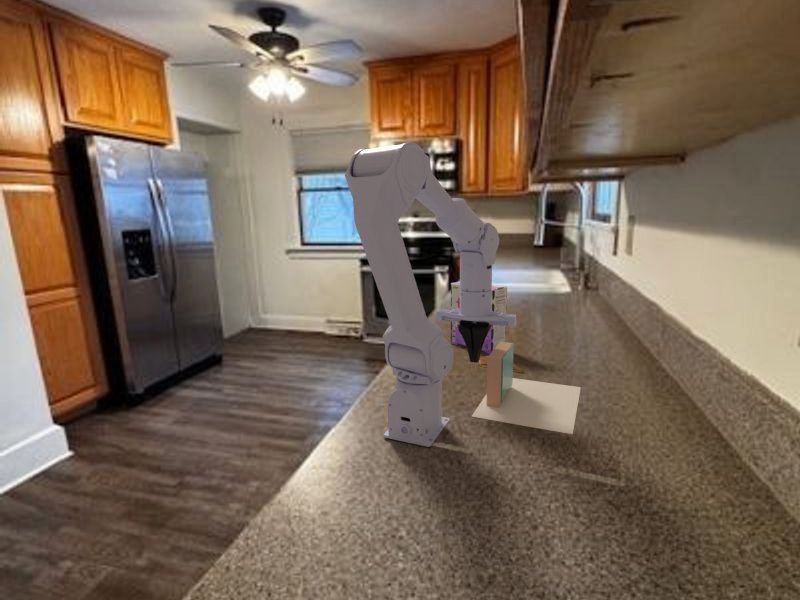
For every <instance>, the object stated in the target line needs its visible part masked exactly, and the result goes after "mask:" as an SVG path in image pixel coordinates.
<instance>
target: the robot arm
mask: <svg viewBox="0 0 800 600" xmlns="http://www.w3.org/2000/svg"><path fill="white" fill-rule="evenodd" d="M344 177H345V179H346V182H347V187H348V189H349V192H350V194H351V197H352V203H353V204H352V207H353V218H354V219H353V220H354V224H355V228H356V231H357V233H358V236H359V239H360V242H361V245H362V247H363V251H364V254H365V256H366V258H367V259H366V260H367V262H368V264H369V267H370V270H371V273H372V275H373V276H372V277H373V278H374V282H375V284H376V287H377V290H378V292H379V297H380V299H381V301H382V304H383V307H384V310H385V312H386V316H387V318H388V322H389V324H390V325H389V326H388V327H387V329H386V330H385V331H384V333H383V335H382V340H383V342H384V346H385V348H384V355H385V356H384V357H385V361H386V363H387V365H388V366H389V367H391V368H392V375H393V376H396V377H395V378H396V384H395V388H394V389H393V391H392V392H391V394H390V395H389V397H388V401H387V415H388V417H387V422H388V429H387V430H386V431H385V432H384V433H383V437H384V438H385V439H390V440H395V441H400V442H404V443H408V444H413V445H418V446H421V447H427V448H429V447H432V446H433V444H434V443H435V442H436V439H437V437H438V436H439V435H440V433H441V432H442V430H443V429H444V428H445V427H446V425H447V424H448V423H449V421H450V420H451V418H449V417H445V416H442V413H443V412H442V410H443V409H442V404H443V403H442V402H443V401H442V398H443V397H442V394H443V393H442V392H443V391H442V388H443V387H442V384H443V383H442V380H443V379H444V378H446V377H447V375H448V373H449V372H450V370H451V369H452V367H453V362H454V351H453V348H452V344H451V342H449V341H448V340H447V339H446V337H445V335H444V331H443V329H442V328H440V326H438V325H437V324H436V323H435V322H433V321H432V320H431V319H429V318H428V317H427V315H426V311H425V308H424V304H423V301H422V298H421V296H420V292H419V289H418V285H417V281H416V278H415V276H414V272H413V269H412V265H411V263H410V259H409V256H408V252H407V248H406V246H405V242H404V239H403V235H402V233H401V232H402V231H401V229H400V227H399V221H400V219H401V216H403V215H404V214H406V213H408V211H409V210H410V208H411V206H412V204H413V203H414V201H415V200H417V201H419V202H420V203H421V204H422V205H423V206H424V207H425V208H427V209H428V210H429V211H431V212H432V213H433V214H435V223H436V225H437V227H438V228H439V229H440V230H442V231H443V232H444V233H445V234H446V235H447V236H448V237H449V238H450V240H451V242H452V244H453V249H454V251H455V252H456V253H457V254H459V281H460V309H451V308H450V309H445V308H444V309H443V308H439V309H438V310H437V311H436V322H451V321H454V322H460V326H459V327H458V329H459V332H460V334H461V335H462V337H463V339H464V342H465V344H466V347H467V348H466V347H465V348H466V349H467V353H468V359H469V362H470V363H476V364H477V363H479V360H480V357H481V354H482V352H481V350H482V347H483V344H484V341H485V338H486V336H487V334H488V332H489V330H490V328H491V326H492V325H500V326H506V327H508V328H513V329H514V328H515V327H516V326H517V314H511V313H506V314H505V313H499V312H493V311H491V298H492V285H493V265H495V261H496V255H497V251H498V249H499V244H500V237H499V232H498V229H497V228H496V227H495V225H493V224H492V223H490V222H484V221H483V220H482V219H481V218H480V217H479V215H478V214H476V213H475V211H473V209H472V208H471V207H470V206H469V205H468V204H467V201H466V199H464V198H459V197H453V198H452V197H451V196H450V195H449V193H448V192H447V191H446V189H445V188H444V187H443V185H442V184H441V183H440V182H439V180H438V178H436V176H435V175H434V174H433V172H432V171H431V160H430V156H428V155H427V154H425V152H424V150H423V149H422V147H421V146H420V145H418V144H417V143H415V142H413V141H408V142H407V141H406V142H404V143H402V144H396V145H389V146H384V147H383V146H382V147H374V148H361V149H358V150H357V151H356V152H355V153H353V155H352V156H351V159H350V161H349V164H348V167H347V169H346V171H345V174H344Z"/></svg>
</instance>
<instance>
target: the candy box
mask: <svg viewBox="0 0 800 600" xmlns="http://www.w3.org/2000/svg"><path fill="white" fill-rule="evenodd" d="M507 301H508V286H506V285H500V284H499V285H498V284H492V298H491V311H493V312H499V313H505V314H507V308H508V307H507V305H508V304H507ZM450 309H460V280H459V281H456V282H451V283H450ZM459 326H460V322H454V321H450V344H451V345H455V346H458V347H463V348H465V349H467V347H466V344H465V342H464V339H463V337H462V335H461V334H460V332H459V329H458V327H459ZM506 327H507V326H500V325H492V326H491V328H490V330H489V332H488V334H487V336H486V338H485V341H484V344H483V347H482V350H481V353H485V354H487V355H490V354H491V352H492V351H493V350H494V349H495V348H496V346H497V345H498V344H499V343H500V342H506V332H507V331H506V329H507V328H506Z"/></svg>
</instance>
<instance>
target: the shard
mask: <svg viewBox="0 0 800 600" xmlns="http://www.w3.org/2000/svg"><path fill="white" fill-rule="evenodd" d="M488 356H489V355H484V356H483V355H482V356H480V360H479V361H478V363H479V364H478V367H481V368H482V367H483V368H487V357H488ZM514 372H515V373H522V374H523V373H525V371H524V370H523V369H521V368H519V367H518V366H517V365H516V364H515V363H514V362H513V373H514Z"/></svg>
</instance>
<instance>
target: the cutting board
mask: <svg viewBox="0 0 800 600" xmlns="http://www.w3.org/2000/svg"><path fill="white" fill-rule="evenodd" d="M581 389H582V387H580V386H574V385H566V384H558V383H553V382H551V383H550V382H545V381H544V382H543V381H537V380H531V379H521V378H517V377H513V384H512V387H511V389H510V391H509V393H508V395H507V396H506V398H505V400H504V402H503V404H502V405H501V407H500V408H497V407H491V406H487V393H486V394H485V395H484V397H483V398H482V400H481V402H480V403H479V404H478V406H477V407H476V409H475V410H474V412H473V414H472V415H471V417H472V418H479V419H483V420H489V421H493V422H499V423H507V424H512V425H517V426H524V427H528V428H534V429H541V430H546V431H550V432H557V433H563V434H567V435H574V430H575V424H576V417H577V414H578V413H577V412H578V406H579V400H580V395H581Z"/></svg>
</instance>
